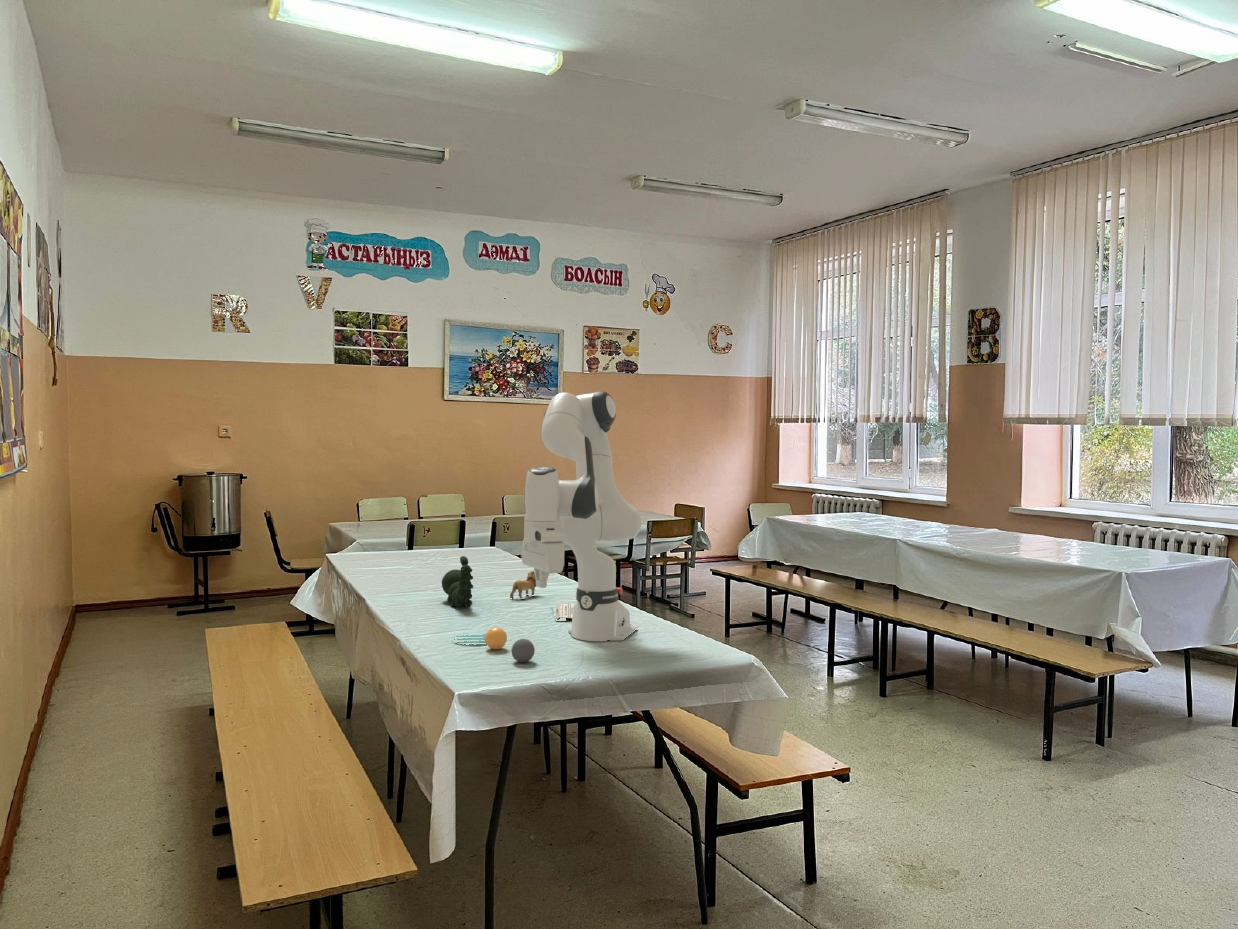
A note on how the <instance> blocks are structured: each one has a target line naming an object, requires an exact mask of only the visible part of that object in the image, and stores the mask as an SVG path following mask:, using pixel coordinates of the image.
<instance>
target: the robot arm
mask: <svg viewBox="0 0 1238 929" xmlns="http://www.w3.org/2000/svg"><path fill="white" fill-rule="evenodd" d="M543 413H544V414H543V422H542V427H541V440H542V442H543V444H544V446H545V447H546V448H547V450H548V451H550V452H551V453H553V454H554V455H556V456H558V457H561V458H565V459H569V460H571V461H573V462H575V471H576V479H572V480H571V479H562V480H561V479H559V473H558V470H557V468H554V467H552V466H537V467H532V468H530V469H529V470H527V474H526V477H525V478H526V479H525V487H524V488H525V489H524V492H523V494H524V495H523V496H524V498H523V500H524V501H523V504H524V505H523V506H524V507H525V515H524V519H523V520H524V522H523V525H524V527H523V539H522V545H521V548H522V549H521V563H522V565H523V566H527V567H530V568H532V569H533V571H534V574H535V578H536V587H538V588H540V589H543V588H545V589H546V588H547V586H548V585H547V583H548V579H549V576H550V574H561V573H562V572H563V569H564V567H565V566H564V564H565V544H564V543H566V544H567V545H568V547H570V549H571V550H572V553H573V554H574V556H575V559H576V564H577V578H578V579H577V583H578V584H577V587H576V592H575V595H576V597H575V598H576V599H575V600H576V601H577V602H576V603H574V604H575V605H574V607H573V616H572V618H571V619H572V620H571V627H569V628H567V629H568V631H567V632H568V633H569V634H571V636H572V637H573V638H575V639H576V640H580V641H587V642H607V640H610V641H624V639H625V638H626V637H627V638H628V635H629V634H630V633H632V632H633V631H634V630H635V629H636V628H637V629H638V626H637V625H634V624H632V623H630V621H631V620H630V617H631V616H630V611H629V609H628V608H626V606H625V605H623V603H622V602H621V601H619V599H620V598H619V595H622V594H623V587H617V586H616V583H617V582H616V579H617V574H616V573H617V566H616V562H615V560H614V559H613V558H612V557H611V556H610V555H608V554H606V553H604V552H602V551H599V550H598V549H597V543H598V542H621V541H622V542H623V541H627V540H632V539H635V538H636V537H637V536H638V534H639V533H640V531H641V527H642V518H641V514H640V513H639V511H638V509H637V508H636V507H635V506H634V505H632V504H630V503H629V502H628V501H627V500H626V498H624V496H623V495H621V493H620V491H619V488H618V487H617V485H616V481H615V475H614V474H615V473H614V467H613V455H612V448H611V444H610V438H609V436H608V433H609V431H610V429H611V426H612V425H613V423H614V422H615V419H616V416H617V408H616V403H615V401H614V399H613V397H612V395H610V394H609V393H608V392H607V391H594V392H591V393H585V394H579V395H575V394H573V393H570V392H560V393H558V394H555V395H554V396H552V398H551V400H550V401H549V404H548V406H547V407H546V408H545V411H544V412H543ZM632 634H633V633H632ZM627 638H626V639H627ZM626 639H625V640H626Z"/></svg>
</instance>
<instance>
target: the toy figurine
mask: <svg viewBox="0 0 1238 929" xmlns="http://www.w3.org/2000/svg"><path fill="white" fill-rule="evenodd" d="M459 559H460V560H459V562H460V564H461V568H460V569H451V570H449V571H447V572H446V573H445V574H444V575H443V577H442V579H441V587H442V589H443V592H444V593H445V594H446V595H448V597H447V598H446V601H447V603H449V604H450V606H451V607H452V606H455V607H460V606H461V607H462V606H466V605H467V606H466V607H470V606H472V605H473V600H471V599H472V598H473V594H472V589H474V585H473V583H472V580H473V579H474V576H473V575H472V572H473V569H472V568H471V566H470V565H468V564H469V560H468V557H467V556H466V555H462V556H460V558H459Z"/></svg>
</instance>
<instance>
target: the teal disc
mask: <svg viewBox="0 0 1238 929" xmlns="http://www.w3.org/2000/svg"><path fill="white" fill-rule="evenodd" d="M455 636H456V637H483V638H467V639H466V638H463V639H457V640H479V641H470V642H469V641H468V642H467V641H464V642H457V643H486V642H485V641H481V640H485V636H486V634H483V635H471V636H469V635H466V636H464V635H463V636H458V635H455ZM454 640H455V639H454ZM464 645H466V644H464ZM464 645H463V646H464ZM469 645H470V646H469V647H481V646H480V645H485V646H487V644H476V645H474V644H469Z"/></svg>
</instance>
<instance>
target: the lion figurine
mask: <svg viewBox="0 0 1238 929" xmlns="http://www.w3.org/2000/svg"><path fill="white" fill-rule="evenodd" d="M536 587H537V586H536V578H535V574H534V570H530V571H529V572H527V577H526V579H524V580H521V579H518V580H516V581H514V582H513V585H512V589H511V592H510V595H509V599H510V598H512V599H513V600H514V594H515V593H516V591H518V597H519V599H520V598H523V596H522V593H523V591H525V594H529V590H530V591H531V596H532V595H534V596H535V591H536V590H535V589H536Z"/></svg>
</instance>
